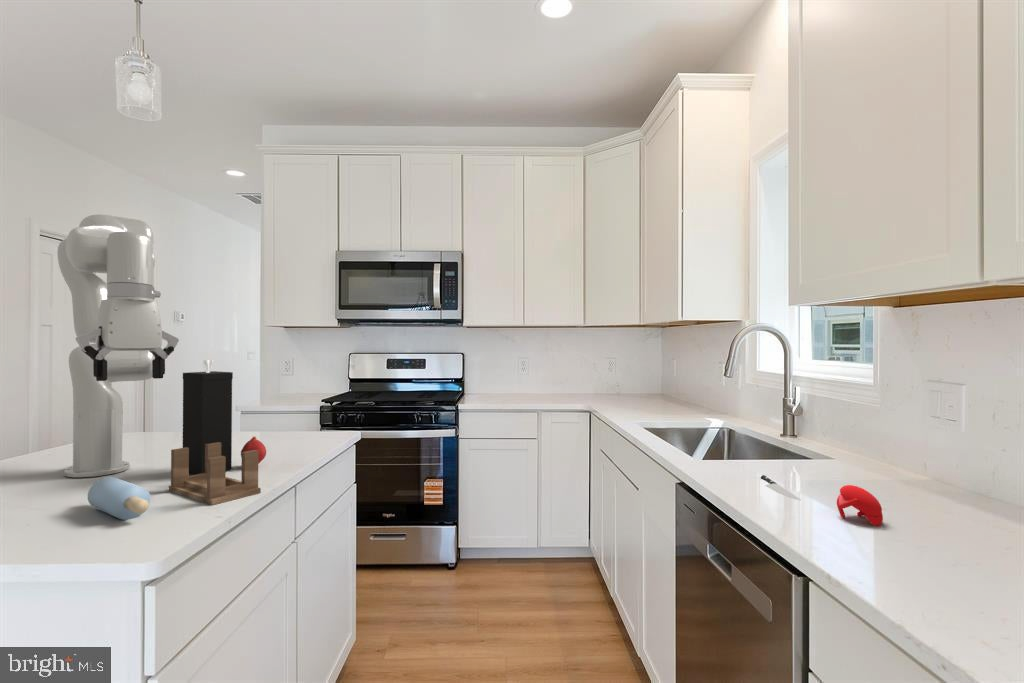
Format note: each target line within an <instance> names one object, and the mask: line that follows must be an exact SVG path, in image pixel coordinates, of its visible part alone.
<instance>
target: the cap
mask: <svg viewBox="0 0 1024 683" xmlns="http://www.w3.org/2000/svg"><path fill="white" fill-rule="evenodd" d="M839 493H840V494H838V497H837V498H836V507H837V509H838V512H839V515H840V517H841V518H842V519H846V517H847V516H846V514H845V511H844V509H847V508H849V507H853V508H854V509H856V510H858V512H857V513H856V515H857V516H858V517H865V518H866V519H867V521H868V522H869V523H870V524H871V525H873V526H875V527H881V525H882V524H883V521H884V516H883V508H882V505H881V503H880V502H879V500H878V499H877V497H875V496H874V495H873V494H872V493H871V492H869V491H867V489H864V488H863V487H861V486H858V485H852V484H846V485H843V486H841V488H839Z"/></svg>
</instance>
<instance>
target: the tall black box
mask: <svg viewBox="0 0 1024 683" xmlns="http://www.w3.org/2000/svg"><path fill="white" fill-rule="evenodd" d="M214 360H215V359H214V358H213V359H207V360H200V362H201V363H202V366H203V368H204V371H192V372H189V371H188V372H182V448H185V447H187V448H189V475H190V476H192V475H197V474H202V473H205V444H210V443H217V442H220V443H221V456H226V471H230V470H232V461H233V460H232V456H233V454H232V453H233V450H232V447H233V446H232V445H233V444H232V441H233V440H232V438H233V437H232V436H233V432H232V431H233V426H232V425H233V419H232V418H233V378H234V377H233V376H234V375H233V374H234V373H233V372H232V371H212V367H213V365H214Z"/></svg>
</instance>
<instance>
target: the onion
mask: <svg viewBox="0 0 1024 683" xmlns="http://www.w3.org/2000/svg"><path fill="white" fill-rule="evenodd" d="M266 448H267V447H266V446H265V444H264V443H263V442H262V441H260V440H258V437H257V436H256V435H254V436H252V438H251V439H250V440H248V441H247V442H245V444H244V445H243V447H242V448H241V451H240V457H241V459H242V452H246V451H252V450H258V465H259V464H260V463H261V462H262V461H263V460H264V459H265V457H266V456H267V449H266Z"/></svg>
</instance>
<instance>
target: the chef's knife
mask: <svg viewBox="0 0 1024 683" xmlns="http://www.w3.org/2000/svg"><path fill="white" fill-rule="evenodd" d="M760 479H762V480H764V481H766V482H767V483H768V484H765V485H764V487H766V488H768V489H770V490H772V491H774V492H776V493H777V494H780V495H782V496H783V497H784V496H785V497H787V498H791V499H794V500H797V501H801V499H800V498H799V497H798V496H796V495H794V493H792V492H791V491H789V490H787V489H786V488H784V487H783V486H781V485H779V483H777V482H775V481H774V480H772V479H770V478H769V477H767V476H766V475H764V474H762V475H761V476H760Z"/></svg>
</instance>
